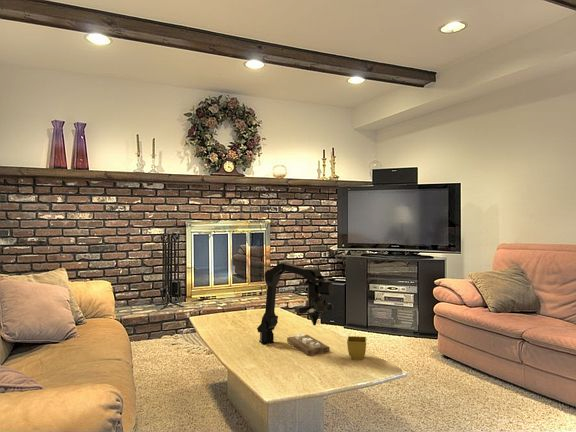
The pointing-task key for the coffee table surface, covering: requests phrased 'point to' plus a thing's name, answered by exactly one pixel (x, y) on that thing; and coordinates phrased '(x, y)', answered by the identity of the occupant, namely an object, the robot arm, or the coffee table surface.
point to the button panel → (308, 346)
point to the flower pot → (356, 347)
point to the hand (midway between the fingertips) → (314, 325)
